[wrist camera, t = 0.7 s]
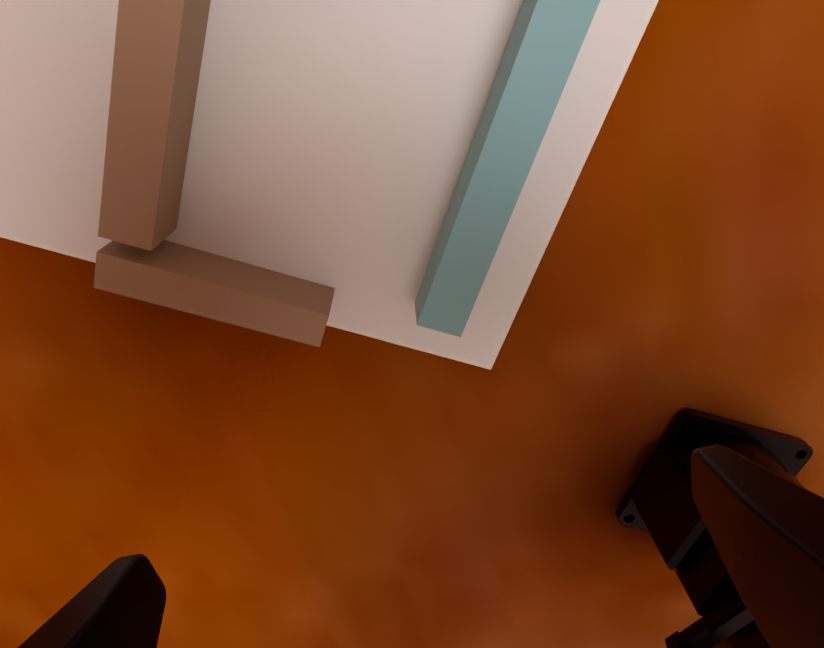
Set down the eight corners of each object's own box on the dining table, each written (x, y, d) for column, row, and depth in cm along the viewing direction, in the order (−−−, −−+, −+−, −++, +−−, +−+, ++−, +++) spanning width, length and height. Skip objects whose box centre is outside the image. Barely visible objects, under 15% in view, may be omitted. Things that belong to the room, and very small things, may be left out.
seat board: (663, -40, 16) (720, -57, 14) (486, 356, 22) (501, 402, 19) (-91, -365, 13) (-225, -479, 10) (-66, 204, 19) (-147, 234, 16)
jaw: (578, 4, 16) (600, -1, 14) (454, 313, 20) (460, 337, 18) (529, -16, 15) (546, -23, 14) (414, 301, 20) (416, 324, 18)
